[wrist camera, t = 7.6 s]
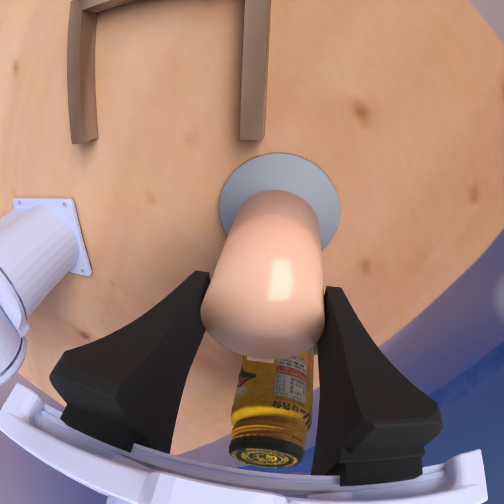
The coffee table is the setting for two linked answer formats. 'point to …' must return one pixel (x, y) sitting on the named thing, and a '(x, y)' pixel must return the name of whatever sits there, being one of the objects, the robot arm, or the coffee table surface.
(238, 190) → the coaster
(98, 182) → the coffee table surface
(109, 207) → the coffee table surface
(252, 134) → the holder
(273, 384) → the condiment
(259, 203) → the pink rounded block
